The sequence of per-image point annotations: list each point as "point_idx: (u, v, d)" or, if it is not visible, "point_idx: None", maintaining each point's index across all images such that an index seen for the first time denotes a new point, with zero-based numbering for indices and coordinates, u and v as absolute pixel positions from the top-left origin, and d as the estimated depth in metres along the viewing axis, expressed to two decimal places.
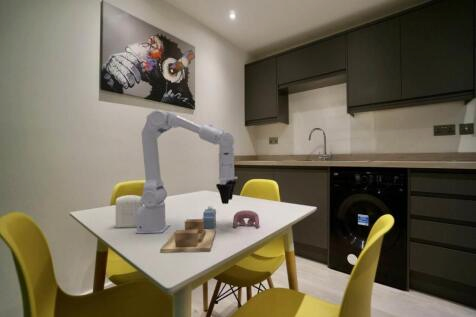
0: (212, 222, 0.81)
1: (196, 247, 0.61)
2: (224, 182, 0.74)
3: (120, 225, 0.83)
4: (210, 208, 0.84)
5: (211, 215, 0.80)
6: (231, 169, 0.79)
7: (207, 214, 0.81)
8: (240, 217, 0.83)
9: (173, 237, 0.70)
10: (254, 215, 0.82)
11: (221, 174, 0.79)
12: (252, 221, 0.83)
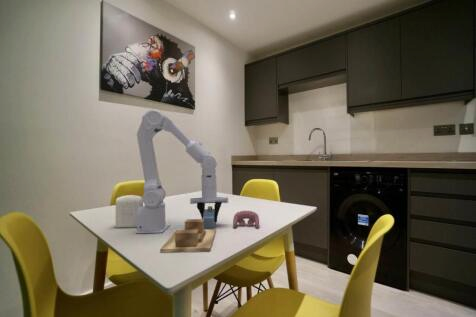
0: (212, 222, 0.81)
1: (196, 247, 0.61)
2: None
3: (120, 225, 0.83)
4: (210, 208, 0.84)
5: (211, 215, 0.80)
6: (203, 191, 0.81)
7: (207, 214, 0.81)
8: (240, 217, 0.82)
9: (173, 237, 0.70)
10: (254, 215, 0.82)
11: None
12: (252, 221, 0.82)
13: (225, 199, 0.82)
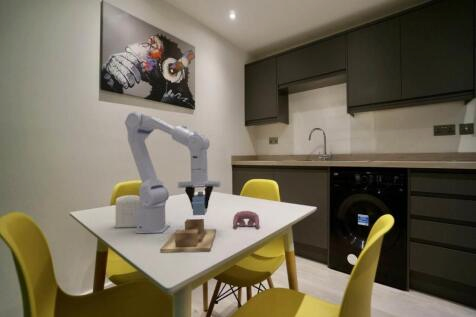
0: (202, 208, 0.72)
1: (196, 247, 0.61)
2: None
3: (120, 225, 0.83)
4: (200, 193, 0.76)
5: (201, 200, 0.72)
6: (192, 173, 0.73)
7: (197, 199, 0.72)
8: (240, 218, 0.82)
9: (173, 237, 0.70)
10: (254, 216, 0.81)
11: None
12: (252, 222, 0.82)
13: (217, 183, 0.74)
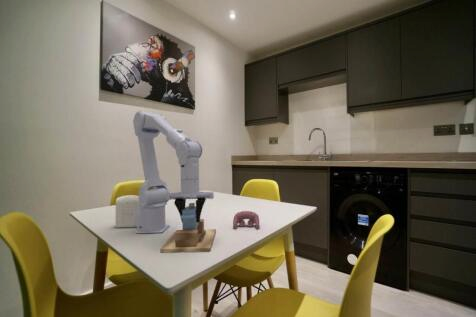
0: (193, 222, 0.66)
1: (196, 247, 0.61)
2: None
3: (120, 225, 0.83)
4: (192, 205, 0.69)
5: (192, 213, 0.66)
6: (182, 184, 0.66)
7: (187, 212, 0.66)
8: (240, 218, 0.82)
9: (173, 237, 0.70)
10: (254, 216, 0.81)
11: None
12: (252, 222, 0.81)
13: (209, 194, 0.67)
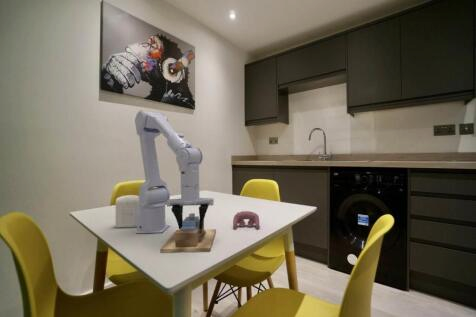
0: None
1: (196, 247, 0.61)
2: None
3: (120, 225, 0.83)
4: (192, 216, 0.69)
5: (192, 225, 0.66)
6: (182, 191, 0.66)
7: (187, 223, 0.66)
8: (240, 218, 0.81)
9: (173, 237, 0.70)
10: (254, 216, 0.81)
11: None
12: (252, 222, 0.81)
13: (209, 200, 0.67)
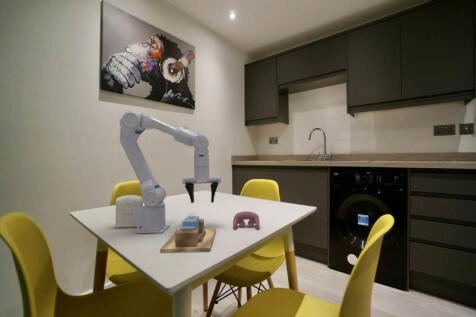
0: None
1: (196, 247, 0.61)
2: None
3: (120, 225, 0.83)
4: (192, 216, 0.69)
5: (192, 225, 0.66)
6: (195, 171, 0.80)
7: (187, 223, 0.66)
8: (240, 218, 0.81)
9: (173, 237, 0.70)
10: (254, 216, 0.80)
11: None
12: (252, 222, 0.81)
13: (218, 179, 0.81)
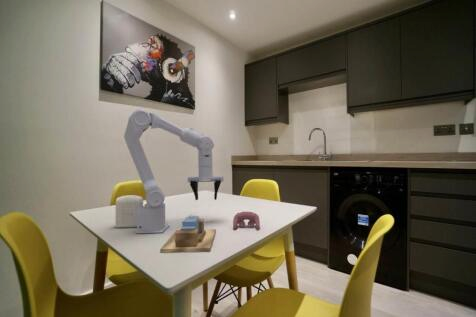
0: None
1: (196, 247, 0.61)
2: None
3: (120, 225, 0.83)
4: (192, 216, 0.69)
5: (192, 225, 0.66)
6: (200, 170, 0.86)
7: (187, 223, 0.66)
8: (240, 218, 0.81)
9: (173, 237, 0.70)
10: (254, 216, 0.80)
11: None
12: (252, 222, 0.81)
13: (220, 178, 0.87)
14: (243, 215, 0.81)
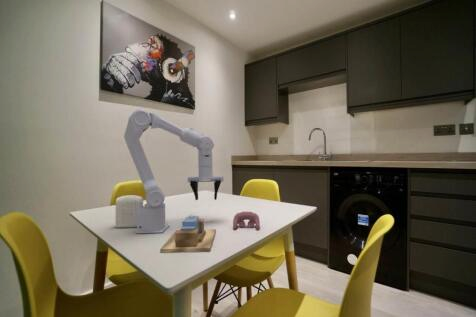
0: None
1: (196, 247, 0.61)
2: None
3: (120, 225, 0.83)
4: (192, 216, 0.69)
5: (192, 225, 0.66)
6: (200, 170, 0.86)
7: (187, 223, 0.66)
8: (240, 218, 0.81)
9: (173, 237, 0.70)
10: (254, 216, 0.80)
11: None
12: (252, 222, 0.81)
13: (220, 178, 0.87)
14: (243, 215, 0.81)
